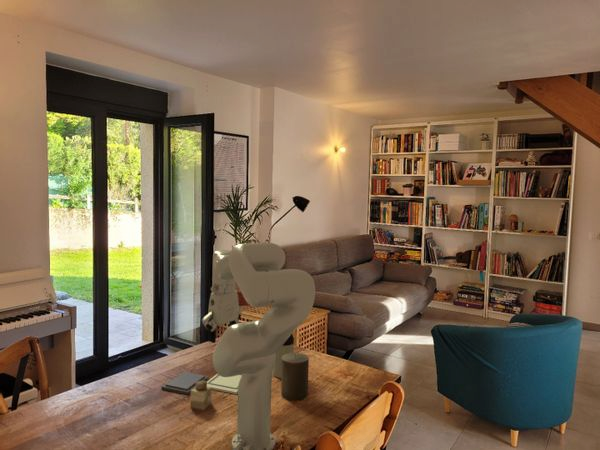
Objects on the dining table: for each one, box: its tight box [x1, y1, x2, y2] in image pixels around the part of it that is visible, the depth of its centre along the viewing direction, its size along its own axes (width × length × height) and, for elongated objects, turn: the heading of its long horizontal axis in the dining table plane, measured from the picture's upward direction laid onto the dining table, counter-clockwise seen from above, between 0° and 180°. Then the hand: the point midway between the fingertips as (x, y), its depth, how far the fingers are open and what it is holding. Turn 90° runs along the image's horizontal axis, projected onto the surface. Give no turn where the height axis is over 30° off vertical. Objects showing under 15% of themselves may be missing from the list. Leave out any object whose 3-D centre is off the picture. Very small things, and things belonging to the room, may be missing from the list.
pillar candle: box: [280, 352, 310, 402], centre depth 165 cm, size 10×10×15 cm
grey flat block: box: [161, 371, 210, 395], centre depth 171 cm, size 14×11×2 cm
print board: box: [206, 373, 243, 395], centre depth 174 cm, size 16×14×1 cm
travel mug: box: [272, 332, 295, 379], centre depth 181 cm, size 8×8×18 cm
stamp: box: [190, 381, 213, 412], centre depth 155 cm, size 5×5×8 cm
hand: (222, 337), depth 154 cm, fingers open, 9 cm apart
